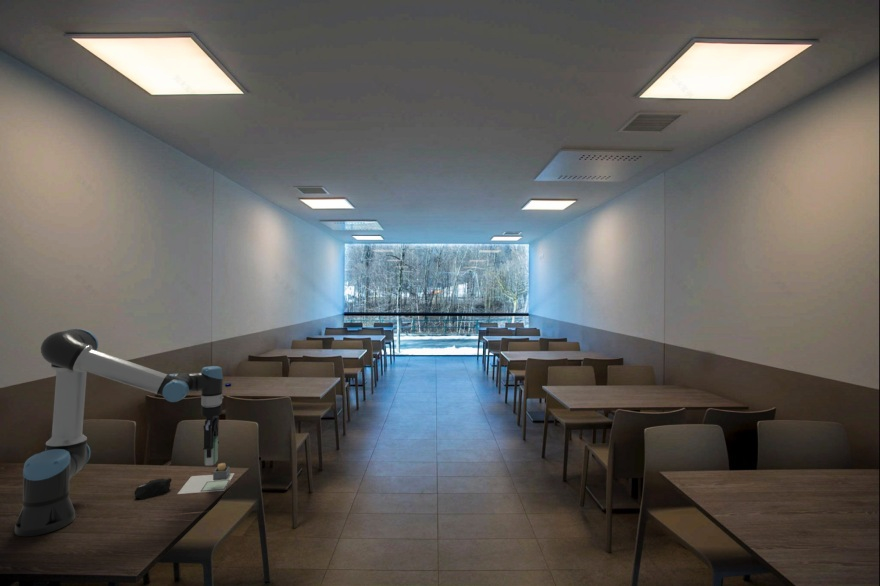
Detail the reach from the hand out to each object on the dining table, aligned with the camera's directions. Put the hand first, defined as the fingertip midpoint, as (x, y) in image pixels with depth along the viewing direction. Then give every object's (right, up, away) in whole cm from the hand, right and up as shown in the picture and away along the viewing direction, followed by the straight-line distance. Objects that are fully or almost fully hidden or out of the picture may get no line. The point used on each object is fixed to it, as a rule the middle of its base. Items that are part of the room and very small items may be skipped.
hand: (211, 462), depth 176 cm
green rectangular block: (0, -1, 0) cm, 1 cm away
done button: (-1, -8, +10) cm, 12 cm away
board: (-3, -10, +3) cm, 11 cm away
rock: (-20, -10, -6) cm, 23 cm away
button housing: (-1, -10, +10) cm, 14 cm away
